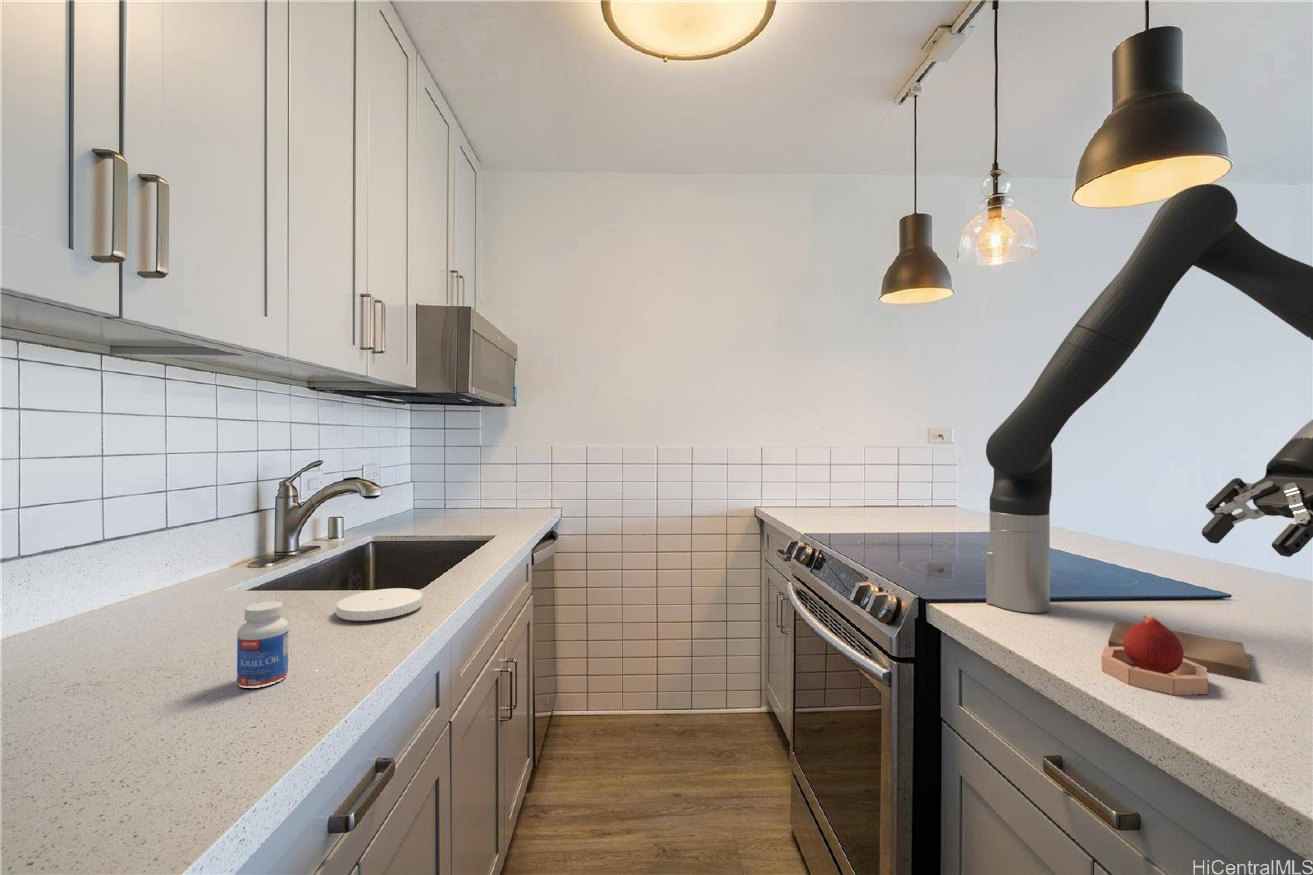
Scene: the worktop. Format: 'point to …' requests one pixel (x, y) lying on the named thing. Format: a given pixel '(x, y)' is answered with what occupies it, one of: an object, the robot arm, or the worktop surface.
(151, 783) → the worktop surface
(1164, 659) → the onion
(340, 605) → the plastic lid
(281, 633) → the pill bottle
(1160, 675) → the ring holder
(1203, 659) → the walnut board
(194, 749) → the worktop surface
